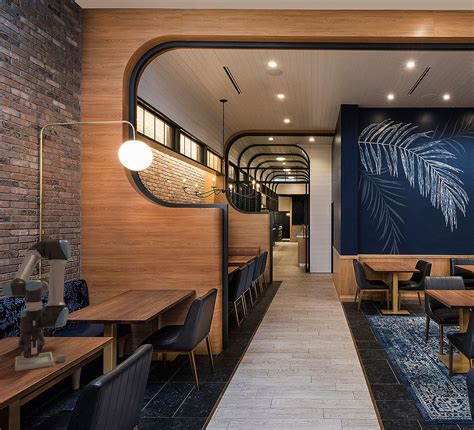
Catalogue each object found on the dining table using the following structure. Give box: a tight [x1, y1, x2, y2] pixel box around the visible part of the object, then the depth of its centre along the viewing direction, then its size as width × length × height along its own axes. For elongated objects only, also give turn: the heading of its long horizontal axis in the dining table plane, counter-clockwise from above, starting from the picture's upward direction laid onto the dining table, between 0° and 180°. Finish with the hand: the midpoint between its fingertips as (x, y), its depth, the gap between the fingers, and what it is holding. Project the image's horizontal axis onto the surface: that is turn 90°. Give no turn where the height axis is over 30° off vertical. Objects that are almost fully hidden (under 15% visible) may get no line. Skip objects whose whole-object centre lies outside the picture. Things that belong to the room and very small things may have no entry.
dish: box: [14, 351, 54, 372], centre depth 220 cm, size 18×18×2 cm
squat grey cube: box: [55, 353, 67, 363], centre depth 224 cm, size 4×4×3 cm
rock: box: [22, 340, 44, 358], centre depth 220 cm, size 12×9×10 cm
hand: (34, 350), depth 220 cm, fingers closed on rock, 12 cm apart
